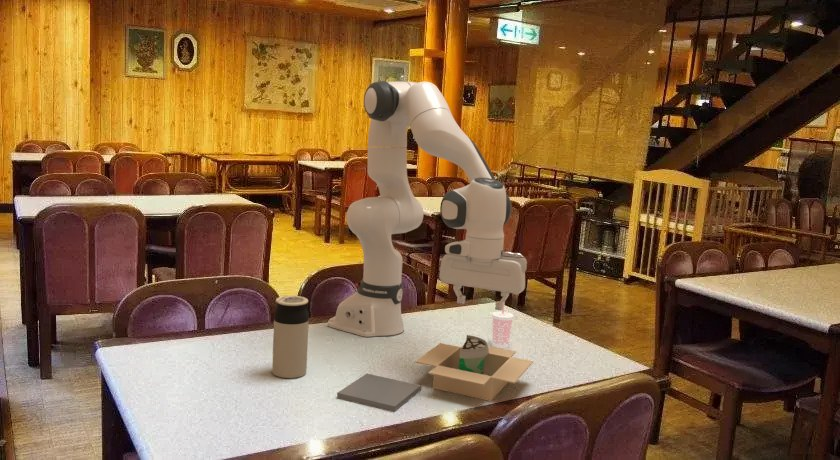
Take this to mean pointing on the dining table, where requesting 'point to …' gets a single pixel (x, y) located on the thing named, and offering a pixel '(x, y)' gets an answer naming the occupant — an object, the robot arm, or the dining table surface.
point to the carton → (471, 383)
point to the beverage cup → (501, 328)
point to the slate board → (379, 392)
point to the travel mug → (290, 337)
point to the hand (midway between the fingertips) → (479, 306)
